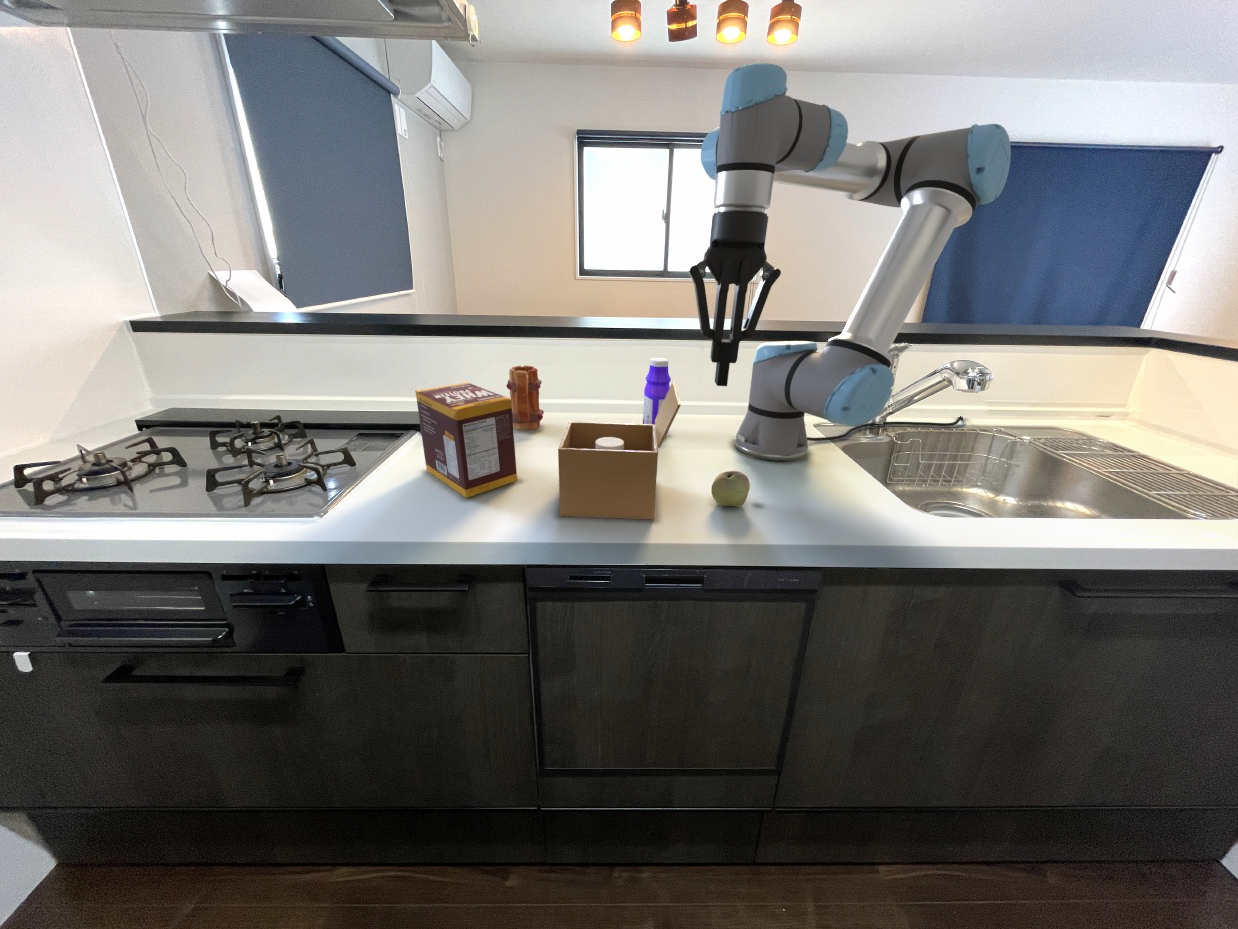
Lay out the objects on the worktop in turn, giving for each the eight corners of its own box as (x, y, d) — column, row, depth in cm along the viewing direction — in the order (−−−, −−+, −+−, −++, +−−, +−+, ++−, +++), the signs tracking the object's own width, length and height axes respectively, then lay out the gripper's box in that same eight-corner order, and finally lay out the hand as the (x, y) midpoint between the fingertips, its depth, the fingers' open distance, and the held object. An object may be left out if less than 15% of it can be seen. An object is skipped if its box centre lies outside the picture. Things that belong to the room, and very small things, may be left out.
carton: (651, 484, 90) (655, 424, 85) (653, 519, 78) (658, 452, 73) (570, 481, 90) (569, 421, 86) (559, 516, 78) (558, 448, 74)
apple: (762, 510, 82) (767, 477, 80) (717, 514, 80) (721, 481, 78) (745, 493, 87) (750, 463, 85) (703, 497, 85) (706, 466, 83)
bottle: (671, 438, 113) (677, 362, 106) (647, 439, 111) (651, 362, 104) (661, 427, 119) (666, 355, 112) (639, 429, 118) (642, 356, 111)
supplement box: (475, 457, 99) (467, 381, 93) (518, 481, 90) (512, 398, 83) (425, 470, 93) (413, 390, 87) (466, 499, 83) (456, 409, 77)
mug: (510, 421, 120) (506, 360, 114) (544, 421, 121) (542, 360, 115) (504, 443, 107) (499, 375, 101) (542, 442, 108) (540, 375, 102)
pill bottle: (621, 505, 81) (623, 449, 77) (588, 501, 82) (588, 446, 78) (628, 490, 86) (630, 437, 82) (596, 487, 87) (597, 434, 83)
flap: (654, 420, 85) (656, 421, 85) (657, 447, 73) (659, 448, 73) (672, 381, 82) (674, 382, 82) (678, 403, 70) (680, 404, 70)
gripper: (781, 214, 69) (757, 379, 79) (689, 212, 70) (676, 376, 79) (797, 210, 63) (769, 391, 72) (694, 207, 63) (680, 388, 72)
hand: (720, 383), depth 75 cm, fingers closed
